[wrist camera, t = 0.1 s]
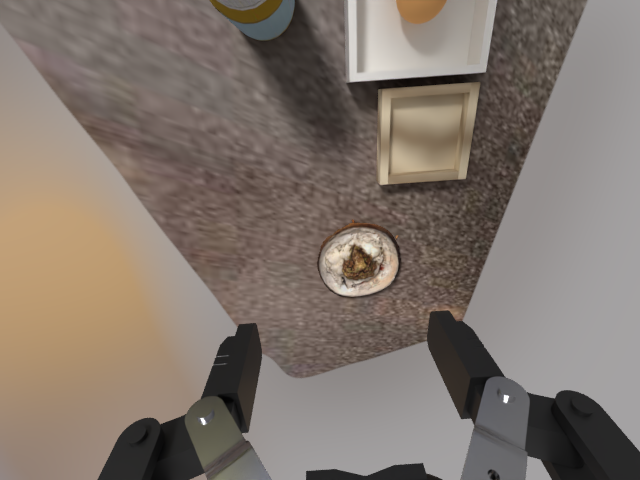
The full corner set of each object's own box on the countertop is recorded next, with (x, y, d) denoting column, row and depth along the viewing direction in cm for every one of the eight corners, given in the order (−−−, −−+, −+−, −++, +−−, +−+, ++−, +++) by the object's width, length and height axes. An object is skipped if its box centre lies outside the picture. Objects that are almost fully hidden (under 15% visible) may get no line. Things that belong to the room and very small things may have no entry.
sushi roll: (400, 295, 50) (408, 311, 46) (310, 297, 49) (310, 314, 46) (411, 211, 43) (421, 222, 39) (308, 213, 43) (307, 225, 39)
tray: (378, 89, 36) (382, 88, 34) (470, 82, 36) (480, 81, 34) (376, 180, 41) (380, 184, 38) (457, 174, 40) (465, 178, 38)
